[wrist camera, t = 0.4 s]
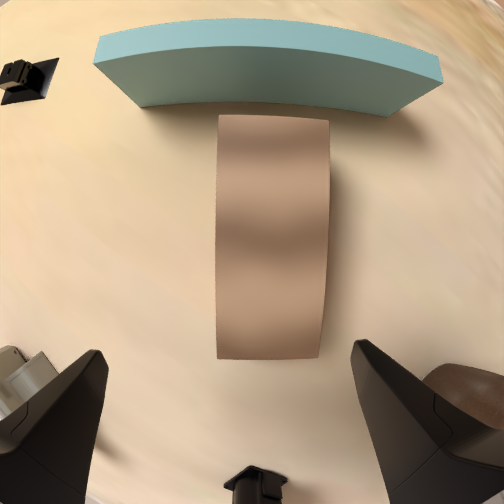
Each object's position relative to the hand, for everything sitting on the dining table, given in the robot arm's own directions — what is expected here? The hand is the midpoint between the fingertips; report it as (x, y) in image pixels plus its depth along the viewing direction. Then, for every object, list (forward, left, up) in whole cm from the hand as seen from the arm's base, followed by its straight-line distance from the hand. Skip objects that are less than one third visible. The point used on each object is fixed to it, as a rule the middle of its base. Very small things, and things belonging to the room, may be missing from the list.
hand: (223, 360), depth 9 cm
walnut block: (+4, 0, -17) cm, 18 cm away
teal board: (+17, +9, -17) cm, 26 cm away
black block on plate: (+3, +35, -18) cm, 39 cm away
